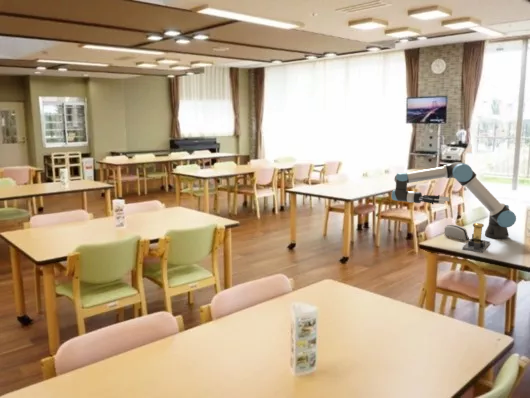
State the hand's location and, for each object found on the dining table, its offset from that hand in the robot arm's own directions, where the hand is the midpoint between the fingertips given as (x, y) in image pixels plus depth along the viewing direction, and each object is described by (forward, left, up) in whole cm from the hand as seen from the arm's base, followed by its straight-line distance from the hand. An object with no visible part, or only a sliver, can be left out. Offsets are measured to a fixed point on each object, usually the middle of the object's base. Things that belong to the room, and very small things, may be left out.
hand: (446, 200), depth 320 cm
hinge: (-11, -14, -28) cm, 34 cm away
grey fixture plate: (-19, +8, -28) cm, 35 cm away
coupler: (-19, +8, -27) cm, 34 cm away
